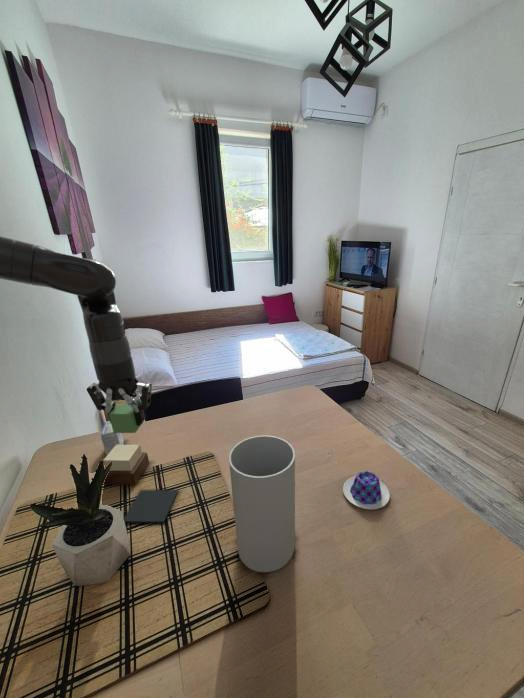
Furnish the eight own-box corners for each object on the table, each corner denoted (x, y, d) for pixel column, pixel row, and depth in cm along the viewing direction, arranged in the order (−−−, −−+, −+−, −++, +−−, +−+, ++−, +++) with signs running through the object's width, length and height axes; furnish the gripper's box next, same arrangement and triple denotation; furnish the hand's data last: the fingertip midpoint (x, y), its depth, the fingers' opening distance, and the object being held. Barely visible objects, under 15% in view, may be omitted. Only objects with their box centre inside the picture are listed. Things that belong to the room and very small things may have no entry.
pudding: (333, 486, 88) (334, 471, 86) (368, 472, 93) (370, 457, 91) (362, 518, 78) (364, 502, 76) (399, 500, 83) (402, 484, 81)
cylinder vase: (304, 537, 73) (306, 447, 64) (275, 586, 64) (271, 487, 54) (259, 515, 79) (254, 429, 70) (226, 556, 69) (214, 462, 60)
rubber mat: (122, 522, 78) (122, 521, 77) (141, 491, 87) (140, 490, 87) (164, 523, 77) (163, 521, 77) (178, 492, 87) (177, 490, 86)
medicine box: (122, 455, 101) (116, 431, 98) (106, 458, 100) (100, 435, 96) (124, 441, 108) (118, 418, 104) (109, 444, 106) (103, 421, 103)
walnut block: (103, 484, 89) (100, 473, 88) (119, 463, 98) (117, 452, 96) (136, 484, 89) (133, 473, 88) (149, 463, 98) (147, 452, 96)
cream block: (105, 470, 89) (103, 460, 87) (118, 454, 95) (116, 444, 94) (131, 470, 89) (128, 460, 87) (142, 454, 95) (140, 444, 94)
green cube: (113, 433, 75) (108, 414, 73) (123, 421, 79) (119, 403, 77) (135, 432, 75) (130, 414, 73) (144, 421, 79) (140, 403, 77)
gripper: (152, 350, 73) (164, 415, 80) (89, 351, 73) (106, 415, 80) (138, 363, 66) (152, 433, 73) (68, 363, 66) (89, 433, 73)
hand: (128, 423), depth 76 cm, fingers closed on green cube, 5 cm apart
